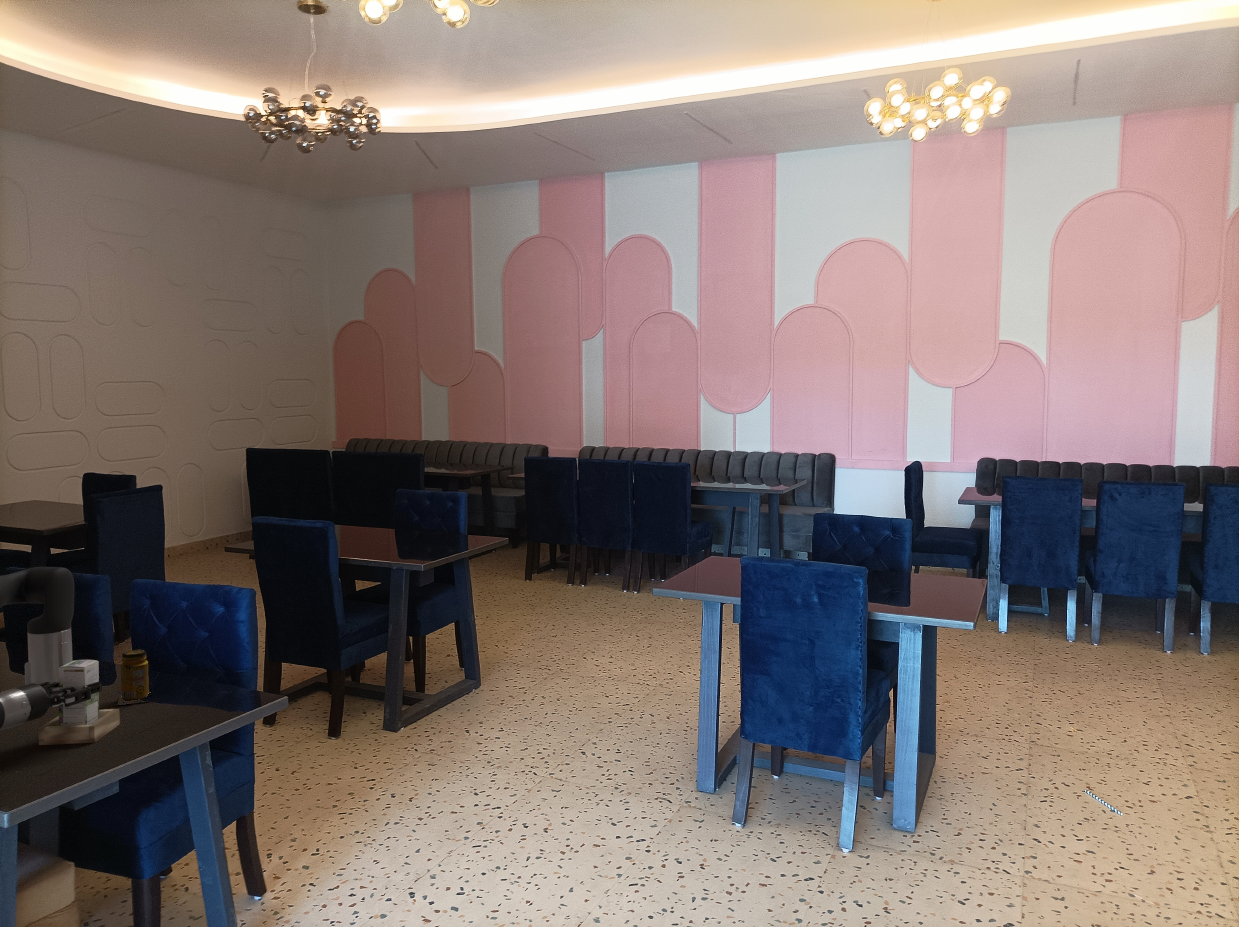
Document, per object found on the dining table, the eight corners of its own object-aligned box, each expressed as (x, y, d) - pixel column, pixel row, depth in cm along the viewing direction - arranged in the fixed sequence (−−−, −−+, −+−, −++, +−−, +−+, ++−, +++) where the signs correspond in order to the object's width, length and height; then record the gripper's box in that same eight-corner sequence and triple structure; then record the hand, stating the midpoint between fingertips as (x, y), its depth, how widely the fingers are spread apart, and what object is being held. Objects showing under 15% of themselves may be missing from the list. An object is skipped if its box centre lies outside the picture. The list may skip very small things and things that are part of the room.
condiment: (151, 693, 218) (150, 647, 218) (149, 702, 211) (148, 655, 210) (119, 697, 215) (117, 650, 214) (115, 707, 207) (114, 658, 207)
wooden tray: (38, 745, 183) (38, 728, 182) (67, 726, 194) (66, 711, 194) (94, 742, 184) (94, 726, 184) (119, 724, 195) (119, 708, 195)
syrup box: (73, 723, 191) (71, 659, 191) (100, 722, 192) (98, 659, 191) (58, 732, 186) (56, 666, 185) (86, 731, 186) (85, 666, 186)
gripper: (-10, 721, 177) (64, 697, 193) (40, 728, 173) (112, 704, 188) (-11, 685, 177) (64, 665, 193) (39, 692, 172) (111, 670, 188)
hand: (87, 684), depth 190 cm, fingers closed on syrup box, 7 cm apart
